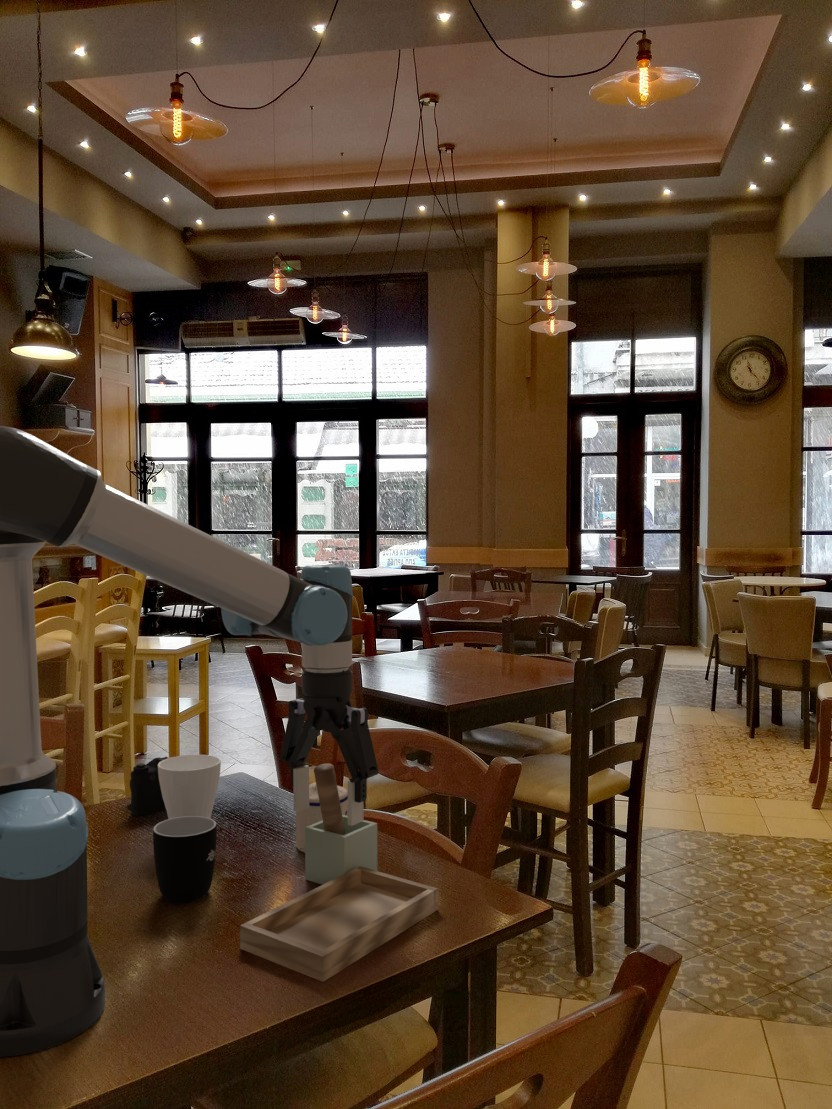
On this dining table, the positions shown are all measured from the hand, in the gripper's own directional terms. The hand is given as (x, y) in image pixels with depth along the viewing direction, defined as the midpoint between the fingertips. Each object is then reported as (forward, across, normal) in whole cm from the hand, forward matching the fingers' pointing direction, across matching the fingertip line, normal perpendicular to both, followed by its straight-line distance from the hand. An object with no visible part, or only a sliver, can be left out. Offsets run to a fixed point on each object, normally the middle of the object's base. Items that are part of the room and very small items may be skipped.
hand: (327, 815), depth 131 cm
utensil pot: (+10, 0, -3) cm, 11 cm away
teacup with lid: (+11, +12, -12) cm, 20 cm away
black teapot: (+11, +52, -10) cm, 54 cm away
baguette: (+10, 0, -1) cm, 10 cm away
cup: (+10, +32, 0) cm, 33 cm away
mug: (+10, +16, +14) cm, 23 cm away
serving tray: (+10, -12, +10) cm, 18 cm away
